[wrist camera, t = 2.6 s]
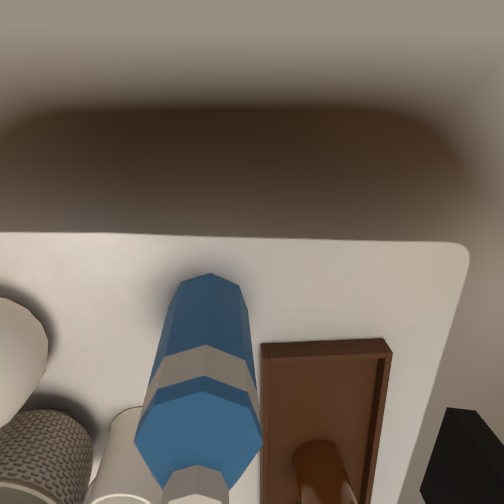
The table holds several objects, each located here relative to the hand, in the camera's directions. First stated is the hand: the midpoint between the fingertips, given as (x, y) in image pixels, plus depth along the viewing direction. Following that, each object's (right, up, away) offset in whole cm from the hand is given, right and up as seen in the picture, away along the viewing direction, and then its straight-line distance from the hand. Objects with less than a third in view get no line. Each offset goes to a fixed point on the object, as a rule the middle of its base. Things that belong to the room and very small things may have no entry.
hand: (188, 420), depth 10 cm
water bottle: (-4, -2, +37) cm, 37 cm away
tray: (+11, -23, +46) cm, 53 cm away
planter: (-24, -19, +42) cm, 52 cm away
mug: (-14, -20, +43) cm, 50 cm away
